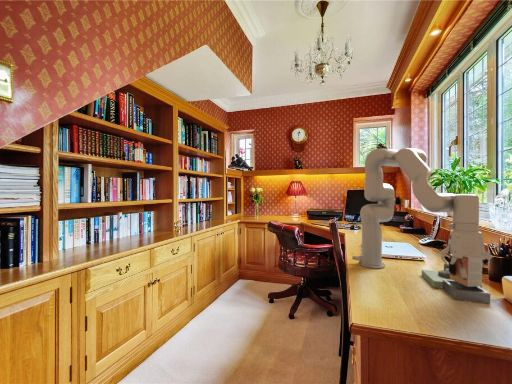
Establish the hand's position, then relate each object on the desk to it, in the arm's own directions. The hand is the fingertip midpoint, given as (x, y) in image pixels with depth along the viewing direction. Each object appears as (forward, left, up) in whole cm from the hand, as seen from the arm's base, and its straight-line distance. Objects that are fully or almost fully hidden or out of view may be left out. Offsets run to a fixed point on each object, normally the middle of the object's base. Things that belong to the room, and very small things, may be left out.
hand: (465, 275), depth 97 cm
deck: (0, +14, -8) cm, 16 cm away
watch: (+7, +32, -8) cm, 34 cm away
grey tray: (0, 0, -8) cm, 8 cm away
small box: (0, 0, -3) cm, 3 cm away
